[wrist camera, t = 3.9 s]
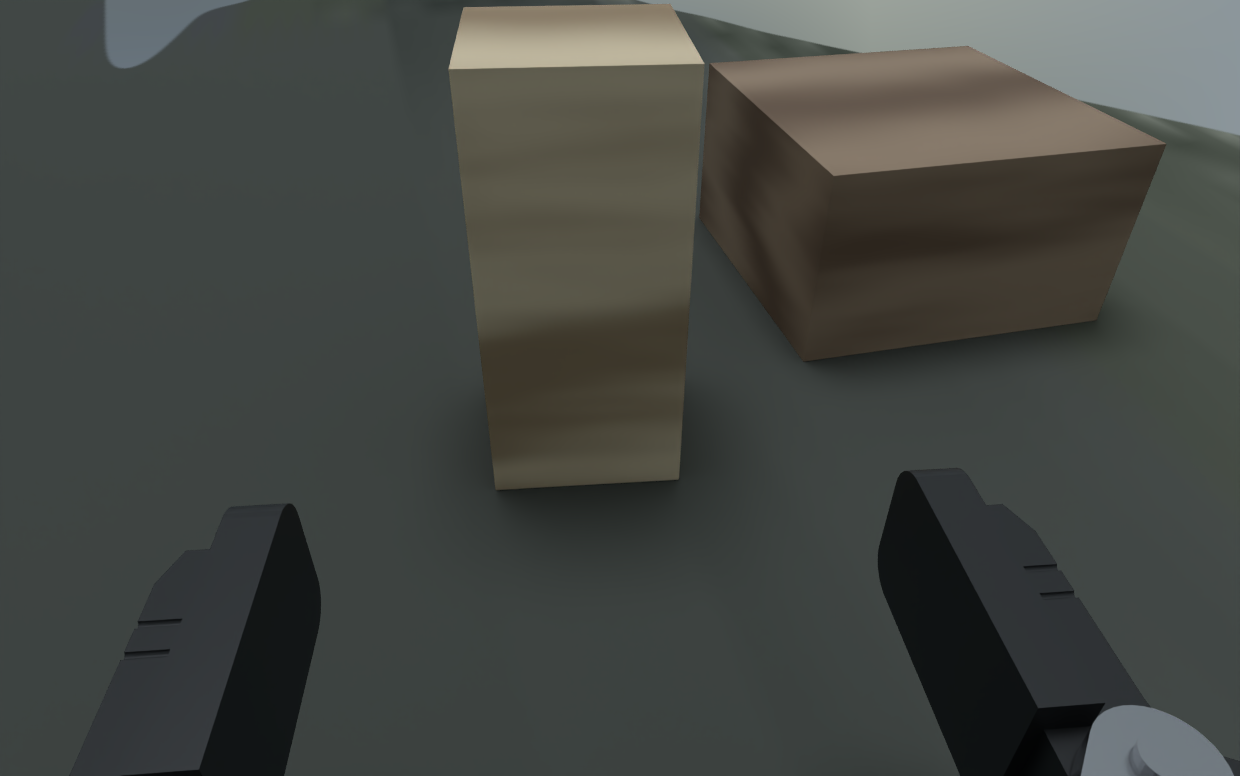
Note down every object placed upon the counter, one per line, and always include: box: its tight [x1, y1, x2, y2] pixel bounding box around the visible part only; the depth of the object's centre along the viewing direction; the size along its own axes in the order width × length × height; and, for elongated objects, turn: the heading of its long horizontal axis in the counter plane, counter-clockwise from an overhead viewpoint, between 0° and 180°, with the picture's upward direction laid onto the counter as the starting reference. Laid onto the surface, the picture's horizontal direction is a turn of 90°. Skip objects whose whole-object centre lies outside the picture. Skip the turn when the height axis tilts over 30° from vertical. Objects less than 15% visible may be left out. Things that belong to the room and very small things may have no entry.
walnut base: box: [699, 46, 1166, 362], centre depth 29 cm, size 10×10×6 cm
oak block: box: [449, 4, 704, 490], centre depth 20 cm, size 4×4×10 cm
